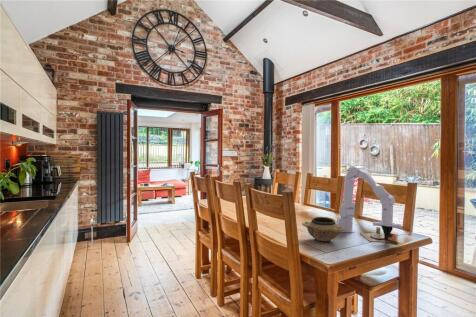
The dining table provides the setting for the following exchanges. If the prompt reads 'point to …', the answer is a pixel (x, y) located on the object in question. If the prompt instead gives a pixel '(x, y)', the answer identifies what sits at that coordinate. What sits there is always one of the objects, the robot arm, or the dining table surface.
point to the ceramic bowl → (323, 229)
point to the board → (370, 239)
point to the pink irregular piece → (379, 236)
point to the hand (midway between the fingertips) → (386, 238)
